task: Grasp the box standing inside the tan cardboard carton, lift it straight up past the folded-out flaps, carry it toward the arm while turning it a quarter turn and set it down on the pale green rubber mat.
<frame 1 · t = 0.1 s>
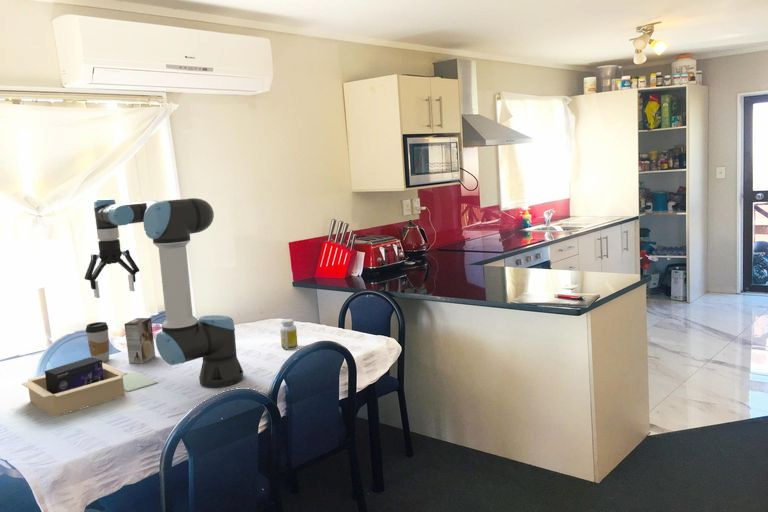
hand: (114, 294, 248), 28 cm above the table, fingers open, 13 cm apart
pill bottle: (289, 348, 263), on the table
coffee box: (142, 360, 257), on the table
mat: (129, 381, 231), on the table
box: (77, 399, 217), resting in carton
carton: (77, 398, 217), on the table
coffee cup: (100, 361, 258), on the table
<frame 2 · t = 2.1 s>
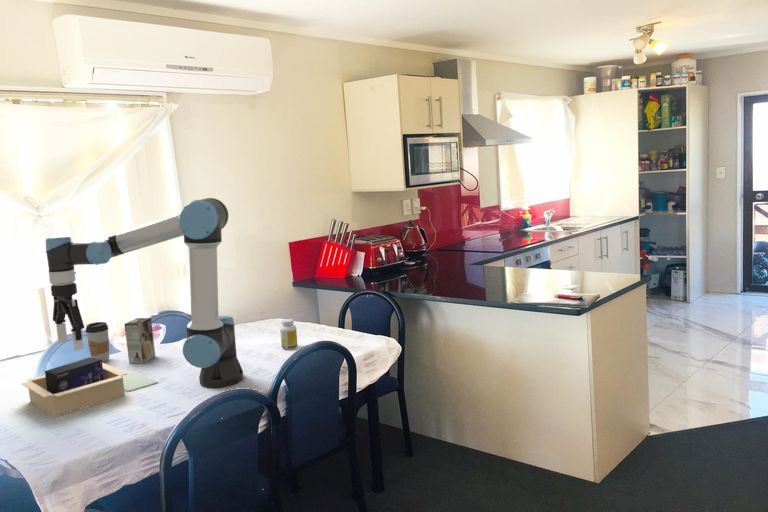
hand: (70, 346, 214), 18 cm above the table, fingers open, 13 cm apart
nothing on the table moved.
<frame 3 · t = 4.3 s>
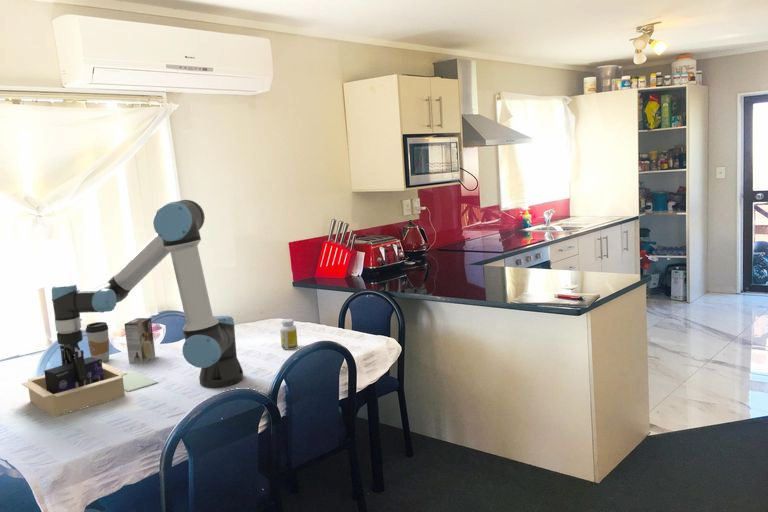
hand: (77, 396, 216), 1 cm above the table, fingers closed on box, 7 cm apart
box: (77, 398, 216), resting in carton, touching gripper
everything else where it was.
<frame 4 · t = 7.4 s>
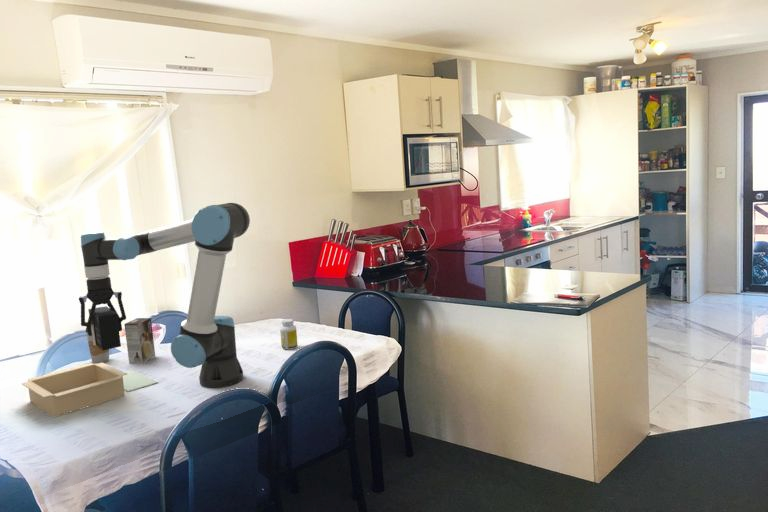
hand: (106, 342, 223), 16 cm above the table, fingers closed on box, 7 cm apart
box: (107, 344, 223), point 16 cm above the table, touching gripper
everything else where it was.
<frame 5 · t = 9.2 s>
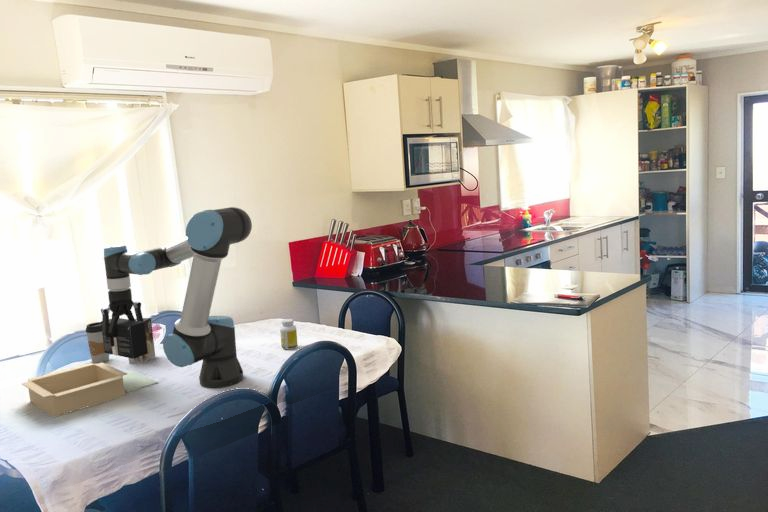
hand: (126, 351, 230), 11 cm above the table, fingers closed on box, 7 cm apart
box: (126, 353, 230), point 10 cm above the table, touching gripper
everything else where it was.
when the fingers open (3 cm above the table, at t = 10.9 s): box drops 2 cm, resting on mat.
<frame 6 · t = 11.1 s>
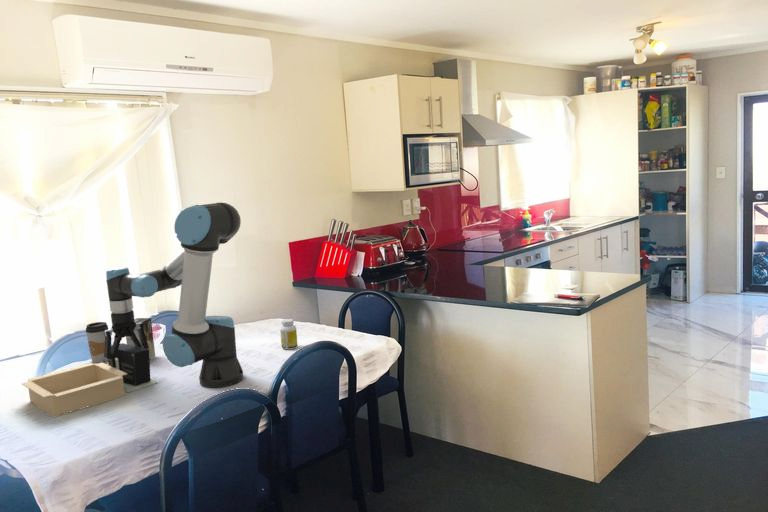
hand: (129, 372, 231), 3 cm above the table, fingers open, 8 cm apart
box: (130, 380, 232), resting on mat
everything else where it was.
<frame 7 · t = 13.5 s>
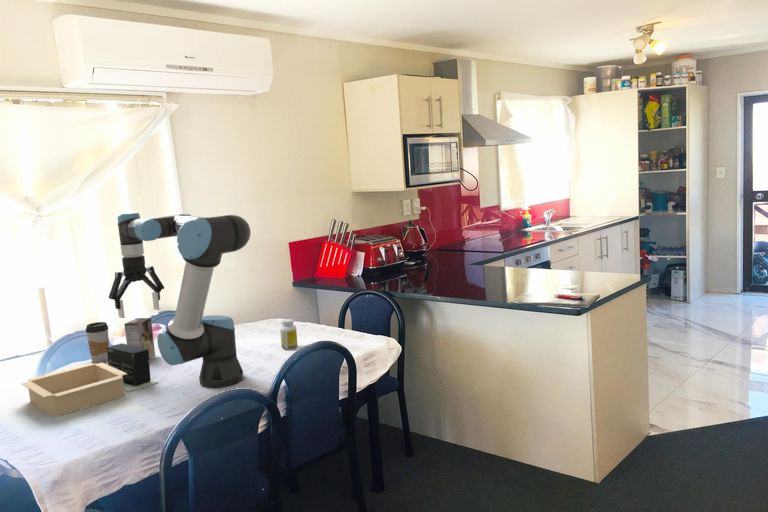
hand: (139, 313, 234), 23 cm above the table, fingers open, 13 cm apart
nothing on the table moved.
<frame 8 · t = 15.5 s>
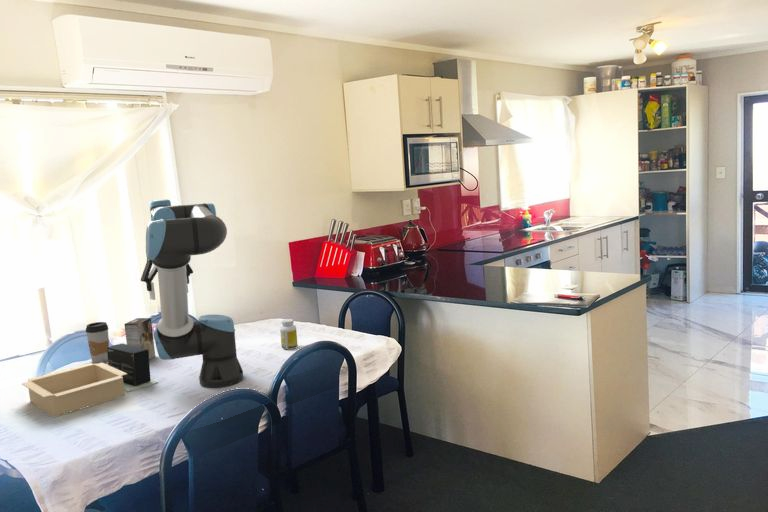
hand: (169, 296, 246), 27 cm above the table, fingers open, 13 cm apart
nothing on the table moved.
at the end: box inside the target area on the mat (0.3 cm from its centre), point 0.2 cm above the mat's base; box tilted 0°; the gripper is holding nothing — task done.
